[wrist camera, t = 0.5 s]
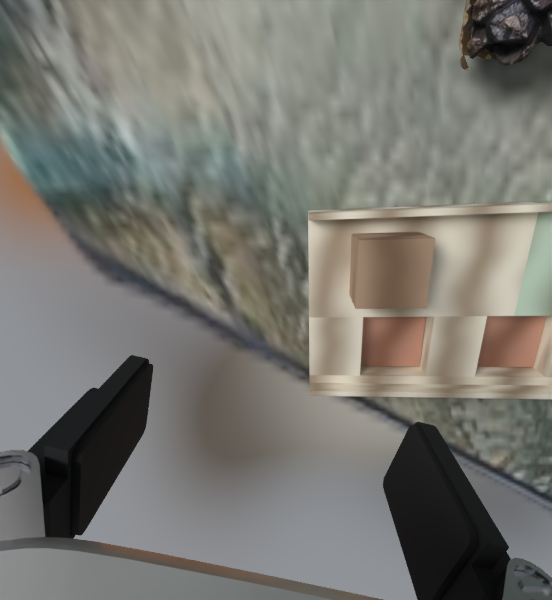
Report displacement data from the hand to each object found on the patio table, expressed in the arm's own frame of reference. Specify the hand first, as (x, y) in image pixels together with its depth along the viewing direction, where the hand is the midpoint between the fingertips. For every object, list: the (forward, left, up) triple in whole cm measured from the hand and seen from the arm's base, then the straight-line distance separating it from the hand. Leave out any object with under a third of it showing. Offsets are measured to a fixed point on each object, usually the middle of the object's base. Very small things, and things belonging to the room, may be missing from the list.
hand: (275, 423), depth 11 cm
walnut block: (-9, 0, -21) cm, 23 cm away
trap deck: (-17, +4, -23) cm, 29 cm away
